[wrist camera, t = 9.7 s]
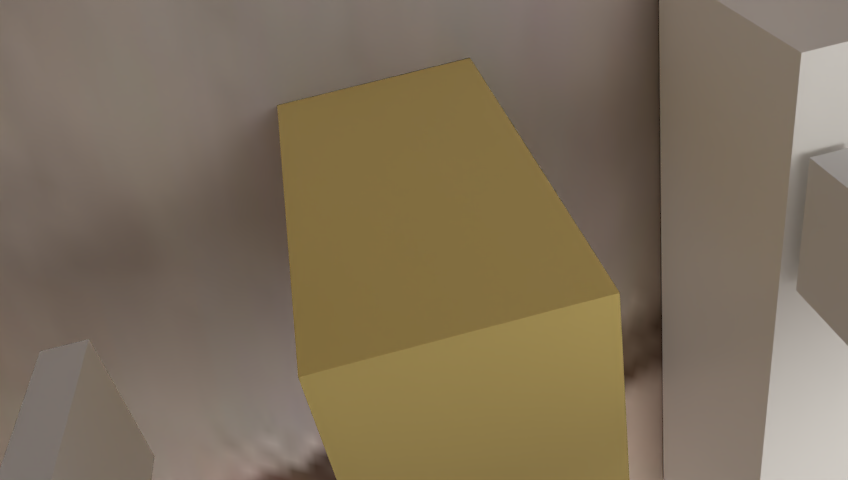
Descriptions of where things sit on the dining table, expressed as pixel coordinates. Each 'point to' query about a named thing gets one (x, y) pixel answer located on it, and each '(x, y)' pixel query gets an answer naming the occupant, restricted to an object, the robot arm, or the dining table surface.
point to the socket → (747, 238)
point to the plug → (445, 291)
